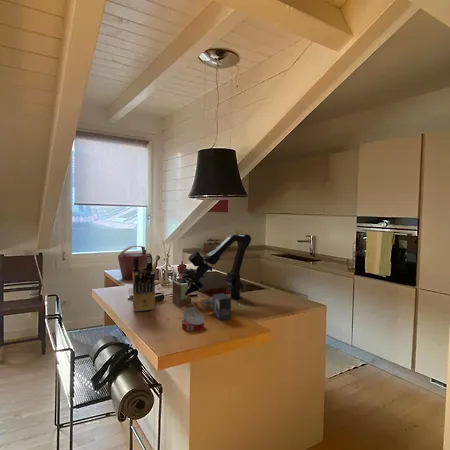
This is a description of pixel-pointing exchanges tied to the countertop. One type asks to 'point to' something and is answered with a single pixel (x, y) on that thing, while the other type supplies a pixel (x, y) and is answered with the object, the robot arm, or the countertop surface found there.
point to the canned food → (192, 320)
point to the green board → (184, 291)
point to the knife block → (143, 285)
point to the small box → (222, 306)
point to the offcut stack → (205, 304)
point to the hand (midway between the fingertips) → (182, 293)
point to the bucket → (131, 262)
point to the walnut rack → (177, 296)
